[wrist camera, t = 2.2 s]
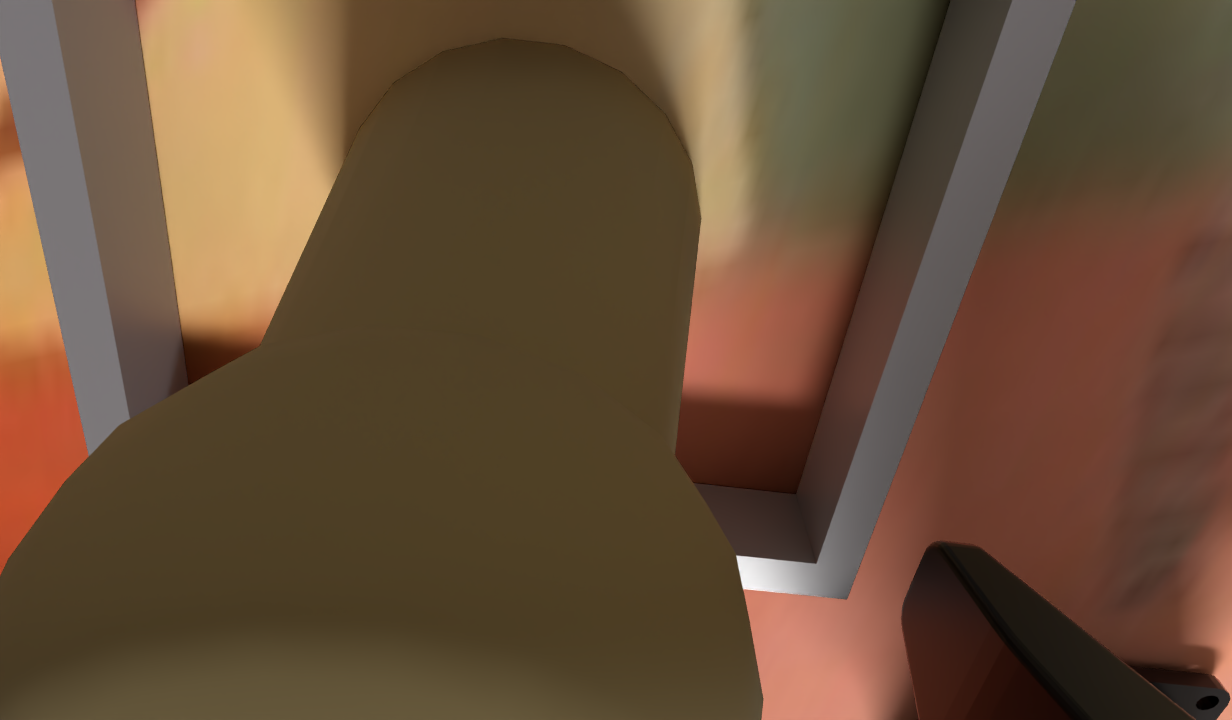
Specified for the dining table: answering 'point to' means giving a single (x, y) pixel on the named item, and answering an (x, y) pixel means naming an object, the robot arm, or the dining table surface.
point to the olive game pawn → (421, 450)
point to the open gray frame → (750, 519)
